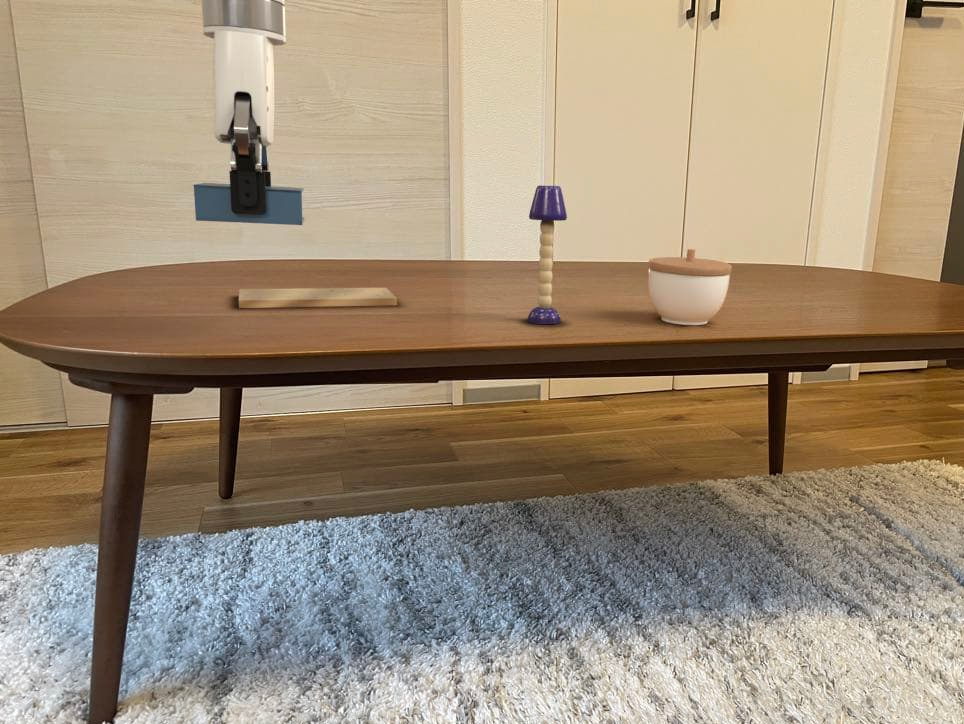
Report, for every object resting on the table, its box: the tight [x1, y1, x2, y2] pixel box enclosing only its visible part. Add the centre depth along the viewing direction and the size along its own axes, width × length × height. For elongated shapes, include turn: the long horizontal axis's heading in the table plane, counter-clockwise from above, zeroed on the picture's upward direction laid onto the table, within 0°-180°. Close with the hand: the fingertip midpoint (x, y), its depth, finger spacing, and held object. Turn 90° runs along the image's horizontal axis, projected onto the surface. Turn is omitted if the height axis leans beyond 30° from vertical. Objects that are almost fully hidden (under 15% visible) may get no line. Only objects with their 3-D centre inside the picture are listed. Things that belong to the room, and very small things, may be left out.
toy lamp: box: [527, 185, 568, 325], centre depth 97 cm, size 5×5×17 cm
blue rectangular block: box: [193, 182, 306, 226], centre depth 80 cm, size 10×7×3 cm
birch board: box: [238, 287, 398, 309], centre depth 106 cm, size 20×9×1 cm, turn 109°
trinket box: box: [647, 248, 733, 326], centre depth 102 cm, size 11×11×9 cm
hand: (252, 210), depth 80 cm, fingers closed on blue rectangular block, 7 cm apart
